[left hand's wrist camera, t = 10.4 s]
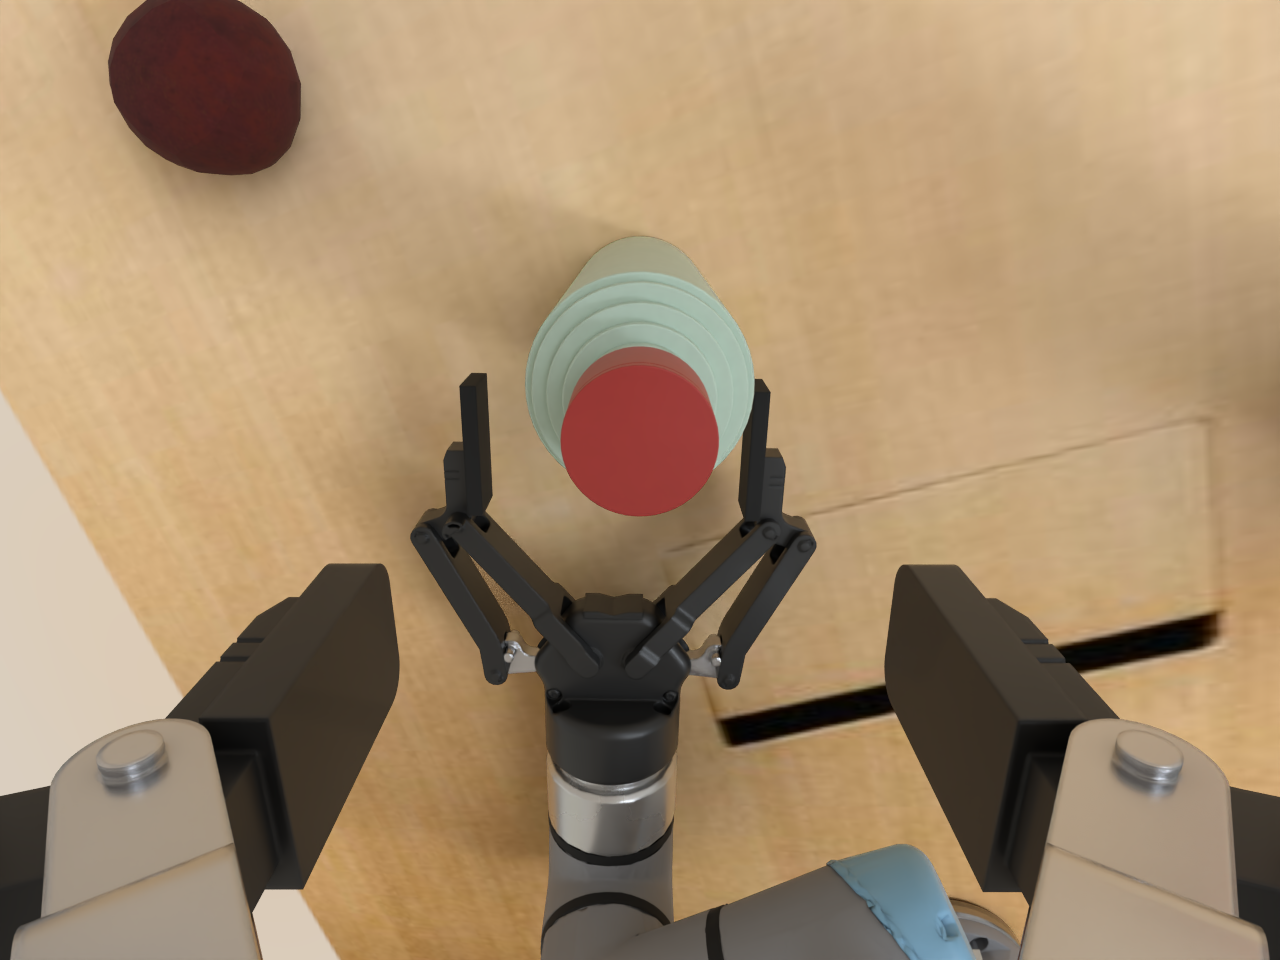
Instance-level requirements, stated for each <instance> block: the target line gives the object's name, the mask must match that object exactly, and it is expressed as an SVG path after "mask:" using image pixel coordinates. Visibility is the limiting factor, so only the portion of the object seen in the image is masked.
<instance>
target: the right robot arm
mask: <svg viewBox="0 0 1280 960" xmlns="http://www.w3.org/2000/svg"><path fill="white" fill-rule="evenodd" d="M459 387H460V403H461V419H462V436H463V442H453V443H452V444H451V446H450V447H449V448H448V450H447V451H446V454H445V457H444V460H443V461H444V475H445V490H446V504H447V505H446V506H445V507H443V508H440V509H434V508H432V509H428V510H427V511H426V512H425V513H424V514H423V516H422V517H421V519H420V520H419V522H418V523H417V525H416V526H415V528H414V529H413V531H412V533H411V537H410V539H411V541H412V543H413V545H414V547H415V548H416V550H417V551H418V553H419V554H420V556H421V558H422V559H423V561H424V562H425V564H426V566H427V567H428V569H429V570H430V572H431V573H432V575H433V577H434V578H435V580H436V581H437V583H438V584H439V586H440V588H441V589H442V591H443V592H444V594H445V596H446V597H447V599H448V600H449V602H450V603H451V605H452V607H453V608H454V610H455V611H456V613H457V614H458V616H459V618H460V619H461V621H462V622H463V624H464V626H465V627H466V629H467V630H468V632H469V633H470V635H471V637H472V638H473V640H474V641H475V643H476V645H477V646H478V648H479V649H480V654H481V659H482V664H483V669H484V675H485V678H486V680H487V681H488V682H489V683H491V684H493V685H499V684H502V683H504V682H505V681H506V679H507V676H508V674H511V673H524V672H537V674H538V675H539V676H540V678H541V680H542V681H543V684H544V688H545V718H546V745H547V749H548V753H547V758H546V763H547V788H548V817H549V879H548V889H547V897H546V904H545V912H544V920H543V927H542V937H541V960H1017V958H1018V953H1019V949H1020V943H1019V941H1018V939H1017V938H1016V936H1015V934H1014V933H1013V931H1012V930H1011V929H1010V928H1009V926H1008V925H1007V924H1006V923H1005V922H1004V921H1003V920H1001V919H1000V918H999V917H997V916H996V915H994V914H993V913H991V912H989V911H987V910H985V909H983V908H981V907H978V906H976V905H973V904H970V903H966V902H962V901H956V900H949V898H948V896H947V894H946V892H945V889H944V887H943V885H942V883H941V881H940V879H939V877H938V875H937V873H936V871H935V869H934V867H933V865H932V863H931V862H930V860H929V859H928V857H927V856H926V855H925V854H924V853H923V852H922V851H920V850H919V849H918V848H916V847H914V846H911V845H907V844H896V845H892V846H888V847H885V848H881V849H877V850H874V851H870V852H867V853H863V854H859V855H856V856H852V857H848V858H845V859H841V860H830V861H829V862H828V863H826V864H827V866H824V867H822V868H819V869H817V870H814V871H812V872H809V873H807V874H804V875H802V876H799V877H796V878H794V879H791V880H789V881H786V882H784V883H781V884H779V885H776V886H774V887H771V888H769V889H766V890H764V891H761V892H758V893H756V894H753V895H751V896H748V897H746V898H743V899H741V900H738V901H736V902H733V903H731V904H726V905H721V906H719V907H716V908H713V909H709V910H707V911H704V912H701V913H698V914H696V915H693V916H690V917H687V918H684V919H682V920H679V921H676V922H674V916H673V894H672V853H673V822H674V812H675V801H676V776H677V752H676V749H677V745H678V730H679V709H680V690H681V686H682V684H683V682H684V680H685V679H686V678H687V676H688V675H696V676H704V677H713V678H717V682H718V684H719V686H720V687H721V688H723V689H726V690H728V689H733V688H735V687H736V686H737V685H738V684H739V682H740V677H741V673H742V668H743V663H744V658H745V655H746V653H747V652H748V650H749V649H750V647H751V646H752V644H753V643H754V641H755V640H756V638H757V637H758V635H759V634H760V632H761V631H762V629H763V628H764V626H765V625H766V623H767V622H768V620H769V619H770V617H771V616H772V614H773V613H774V611H775V610H776V608H777V607H778V605H779V604H780V602H781V601H782V599H783V598H784V596H785V595H786V593H787V592H788V590H789V589H790V587H791V586H792V584H793V583H794V581H795V580H796V578H797V577H798V575H799V574H800V572H801V571H802V569H803V568H804V566H805V565H806V563H807V562H808V560H809V559H810V557H811V556H812V554H813V553H814V551H815V549H816V541H815V539H814V537H813V535H812V533H811V531H810V529H809V527H808V525H807V523H806V521H805V519H803V518H802V517H800V516H793V517H792V516H789V515H786V514H784V513H783V512H782V504H783V493H784V482H785V471H786V466H785V463H784V460H783V457H782V455H781V454H780V452H779V450H778V449H775V448H766V442H767V429H768V417H769V405H770V393H771V392H770V391H769V389H768V388H767V386H766V385H765V383H764V381H763V380H762V379H755V381H754V398H753V404H752V409H751V413H750V416H749V419H748V422H747V425H746V427H745V429H744V431H743V440H742V454H741V468H740V483H739V497H738V502H739V505H740V508H741V511H742V514H743V517H744V518H743V519H742V520H741V521H740V522H739V523H738V524H737V525H736V526H735V527H734V528H733V529H732V530H731V531H730V532H729V533H728V534H727V535H726V536H725V537H724V538H723V539H722V540H721V541H720V542H719V543H718V544H717V545H716V546H715V547H714V548H713V549H712V550H711V551H710V552H709V553H708V554H707V555H706V556H704V557H703V558H702V559H701V560H700V561H699V562H698V563H697V564H696V565H695V566H694V567H693V568H692V569H691V570H690V571H689V572H688V573H687V574H686V575H685V576H684V577H683V578H682V579H681V580H680V581H679V582H678V583H677V584H676V585H671V586H670V587H668V588H667V589H666V590H665V591H664V592H663V593H662V594H661V595H660V596H659V597H658V598H657V599H656V600H655V601H654V602H651V601H649V600H647V599H644V598H643V594H626V595H622V596H617V597H612V596H608V595H604V594H600V593H586V596H585V597H584V598H580V599H578V600H576V601H575V600H574V598H573V597H572V596H571V595H570V594H569V593H568V592H567V591H566V590H565V589H564V588H563V587H562V586H561V585H560V584H558V583H554V582H552V581H551V580H550V579H549V578H548V576H547V575H546V574H545V573H544V572H543V571H542V570H541V569H540V568H539V567H538V566H537V565H536V564H535V563H534V562H533V561H532V560H531V559H530V558H529V557H528V556H527V554H526V553H525V552H524V551H523V550H522V549H521V548H520V547H519V546H518V545H517V544H516V543H515V542H514V541H513V540H512V539H511V538H510V537H509V536H508V535H507V533H506V532H505V531H504V530H503V529H502V528H501V527H500V526H499V525H498V524H497V523H496V522H495V521H494V520H493V519H492V518H491V517H490V516H489V515H488V514H487V513H486V511H485V510H486V508H487V506H488V504H489V502H490V500H491V498H492V496H493V494H492V474H491V453H490V433H489V412H488V391H487V373H471V374H470V375H469V376H468V377H467V378H466V379H465V380H464V382H463V383H462V384H461V385H460V386H459ZM764 554H765V555H764ZM469 555H470V556H471V557H472V558H473V559H474V560H475V561H476V562H477V563H478V564H479V565H480V566H481V567H482V568H483V569H484V570H485V571H486V572H487V573H488V574H489V575H490V576H491V577H492V578H493V579H494V580H495V581H496V582H497V583H498V584H499V585H500V586H501V587H502V588H503V589H504V590H505V592H506V593H507V594H508V595H509V596H510V597H511V598H512V599H513V600H514V601H515V602H516V603H517V604H518V605H519V606H520V607H521V608H522V609H523V610H524V611H525V612H526V613H527V614H528V615H529V616H530V617H531V619H532V621H533V624H534V626H535V628H536V629H537V630H538V631H539V632H540V633H541V634H542V635H543V636H544V638H543V639H542V640H541V641H540V643H539V645H538V647H532V646H529V645H527V644H526V643H525V642H524V640H523V638H522V636H521V635H520V633H519V632H518V631H517V630H512V631H511V630H510V626H509V623H508V620H507V618H506V616H505V614H504V612H503V610H502V608H501V607H500V605H499V604H498V602H497V600H496V599H495V597H494V595H493V594H492V592H491V590H490V589H489V587H488V585H487V584H486V582H485V581H484V579H483V577H482V576H481V574H480V572H479V571H478V569H477V567H476V566H475V564H474V562H473V561H472V559H471V558H470V556H469ZM763 555H764V556H763ZM761 556H763V558H762V559H761V561H760V562H759V564H758V565H757V567H756V569H755V570H754V572H753V573H752V575H751V576H750V578H749V579H748V581H747V583H746V584H745V586H744V587H743V589H742V590H741V592H740V593H739V595H738V597H737V598H736V600H735V601H734V603H733V604H732V606H731V607H730V609H729V610H728V612H727V614H726V615H725V617H724V619H723V620H722V622H721V625H720V627H719V630H718V634H717V635H715V634H711V635H709V636H708V638H707V639H706V640H705V642H704V643H703V645H702V646H701V647H700V648H699V649H697V650H689V647H688V645H687V644H686V642H685V641H684V640H683V639H682V638H683V637H684V636H685V635H686V634H687V633H688V632H689V631H690V629H691V628H692V625H693V623H694V621H695V620H696V619H697V618H698V617H699V616H700V615H701V614H702V613H703V612H704V611H705V610H706V609H707V608H708V607H709V606H711V605H712V604H713V603H714V602H715V601H716V600H717V599H718V598H719V597H720V596H721V595H722V594H723V593H724V592H725V591H726V590H727V589H728V588H729V587H730V586H731V585H732V584H733V583H734V582H735V581H737V580H738V579H739V578H740V577H741V576H742V575H743V574H744V573H745V572H746V571H747V570H748V569H749V568H750V567H751V566H752V565H753V564H754V563H755V562H756V561H757V560H758V559H759V558H760V557H761Z"/></svg>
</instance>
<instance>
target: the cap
mask: <svg viewBox="0 0 1280 960" xmlns="http://www.w3.org/2000/svg"><path fill="white" fill-rule="evenodd" d="M560 443H561V453H562V458H563V461H564V464H565V467H566V470H567V472H568V474H569V476H570V478H571V479H572V481H573V482H574V484H575V485H576V486H577V487H578V489H579V490H580V491H581V492H582V493H583V494H584V495H585V496H586V497H588V498H589V499H590V500H591V501H593V502H594V503H596V504H597V505H599V506H601V507H603V508H605V509H607V510H609V511H612V512H615V513H619V514H623V515H629V516H651V515H657V514H661V513H665V512H667V511H670V510H672V509H675V508H677V507H679V506H680V505H682V504H684V503H685V502H687V501H688V500H690V499H691V498H692V497H693V496H694V495H695V494H696V493H697V492H699V490H700V489H701V488H702V487H703V486H704V484H705V483H706V481H707V480H708V478H709V477H710V475H711V473H712V471H713V468H714V466H715V463H716V460H717V456H718V449H719V432H718V426H717V422H716V418H715V415H714V412H713V409H712V406H711V403H710V400H709V397H708V394H707V391H706V389H705V386H704V384H703V383H702V381H701V379H700V378H699V376H698V375H697V374H696V372H695V371H694V370H693V369H692V368H691V367H690V366H689V365H688V364H687V363H686V362H684V361H683V360H682V359H680V358H679V357H677V356H675V355H673V354H672V353H669V352H667V351H664V350H661V349H657V348H653V347H645V346H635V347H627V348H622V349H619V350H615V351H613V352H611V353H608V354H606V355H604V356H603V357H601V358H599V359H598V360H597V361H595V362H594V363H593V364H592V365H590V366H589V367H588V369H587V370H586V371H585V372H584V373H583V374H582V376H581V377H580V379H579V380H578V382H577V384H576V386H575V388H574V390H573V393H572V396H571V398H570V401H569V404H568V407H567V410H566V413H565V417H564V419H563V424H562V428H561V438H560Z"/></svg>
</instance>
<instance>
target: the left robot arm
mask: <svg viewBox="0 0 1280 960" xmlns="http://www.w3.org/2000/svg"><path fill="white" fill-rule="evenodd" d="M398 681H399V652H398V644H397V636H396V628H395V620H394V613H393V605H392V597H391V589H390V581H389V576H388V573H387V570H386V568H385V566H384V565H383V564H328V565H326V566H325V567H324V568H323V569H322V571H321V572H320V573H319V574H318V575H317V577H316V578H315V579H314V580H313V581H312V583H311V584H310V585H309V586H308V587H307V589H306V590H305V591H304V592H303V593H302V595H301V596H300V597H288V598H287V599H285V600H283V601H282V602H280V603H278V604H277V605H275V606H273V607H272V608H270V609H268V610H267V611H265V612H263V613H262V614H260V615H258V616H257V617H256V618H255V619H254V620H253V621H252V622H251V623H250V625H249V626H248V627H247V628H246V629H245V630H244V631H243V632H242V633H241V635H240V636H239V637H238V638H237V643H233V644H232V645H231V646H230V647H229V648H228V649H227V650H226V651H225V652H224V654H223V655H222V656H221V660H220V662H215V664H214V665H213V666H212V667H211V668H210V669H209V670H208V671H207V672H206V674H205V675H204V676H203V677H202V678H201V679H200V680H199V681H198V683H197V684H196V685H195V686H194V687H193V688H192V689H191V690H190V691H189V693H188V694H187V695H186V696H185V697H184V698H183V699H182V700H181V701H180V703H179V704H178V705H177V706H176V707H175V708H174V709H173V710H172V712H171V713H170V714H169V715H168V716H167V717H166V718H165V719H158V720H152V721H146V722H142V723H138V724H134V725H131V726H128V727H125V728H122V729H119V730H117V731H114V732H112V733H110V734H107V735H105V736H103V737H101V738H99V739H97V740H95V741H94V742H92V743H90V744H89V745H87V746H85V747H84V748H82V749H81V750H80V751H78V752H77V753H76V754H74V755H73V756H72V757H71V758H70V759H68V760H67V761H66V762H65V763H64V764H63V765H62V767H61V768H60V769H59V770H58V772H57V773H56V774H55V776H54V778H53V780H52V782H51V786H47V787H43V788H38V789H33V790H28V791H23V792H18V793H13V794H9V795H4V796H0V960H263V958H262V954H261V949H260V944H259V940H258V936H257V931H256V927H255V922H254V918H253V914H252V912H253V910H254V908H255V906H256V905H257V903H258V901H259V899H260V897H261V895H262V893H263V892H264V890H265V889H303V888H304V886H305V884H306V882H307V880H308V878H309V876H310V874H311V872H312V870H313V868H314V866H315V863H316V861H317V859H318V857H319V855H320V853H321V851H322V849H323V847H324V845H325V843H326V841H327V839H328V836H329V834H330V832H331V830H332V828H333V826H334V824H335V822H336V820H337V818H338V816H339V814H340V812H341V809H342V807H343V805H344V803H345V801H346V799H347V797H348V795H349V793H350V791H351V789H352V787H353V785H354V782H355V780H356V778H357V776H358V774H359V772H360V770H361V768H362V766H363V764H364V762H365V760H366V758H367V755H368V753H369V751H370V749H371V747H372V745H373V743H374V741H375V739H376V737H377V735H378V733H379V731H380V728H381V726H382V724H383V722H384V720H385V718H386V716H387V714H388V712H389V710H390V708H391V706H392V704H393V701H394V699H395V695H396V692H397V687H398ZM885 682H886V688H887V693H888V697H889V700H890V702H891V705H892V707H893V709H894V711H895V713H896V715H897V717H898V719H899V721H900V723H901V725H902V727H903V729H904V731H905V733H906V735H907V737H908V739H909V742H910V744H911V746H912V748H913V750H914V752H915V754H916V756H917V758H918V760H919V762H920V764H921V766H922V768H923V770H924V772H925V774H926V776H927V778H928V780H929V782H930V785H931V787H932V789H933V791H934V793H935V795H936V797H937V799H938V801H939V803H940V805H941V807H942V809H943V811H944V813H945V815H946V817H947V819H948V821H949V823H950V826H951V828H952V830H953V832H954V834H955V836H956V838H957V840H958V842H959V844H960V846H961V848H962V850H963V852H964V854H965V856H966V858H967V860H968V862H969V864H970V866H971V869H972V871H973V873H974V875H975V877H976V879H977V881H978V883H979V885H980V887H981V889H982V891H983V892H1022V893H1023V895H1024V897H1025V899H1026V901H1027V903H1028V904H1029V910H1028V914H1027V918H1026V922H1025V927H1024V931H1023V935H1022V940H1021V944H1020V949H1019V953H1018V958H1017V960H1280V797H1277V796H1272V795H1267V794H1262V793H1257V792H1253V791H1248V790H1243V789H1239V788H1235V787H1230V786H1229V783H1228V780H1227V778H1226V776H1225V774H1224V773H1223V772H1222V770H1221V769H1220V768H1219V767H1218V765H1217V764H1216V763H1215V762H1214V761H1213V760H1212V759H1210V758H1209V757H1208V756H1207V755H1206V754H1204V753H1203V752H1202V751H1200V750H1199V749H1198V748H1196V747H1195V746H1193V745H1191V744H1190V743H1188V742H1187V741H1185V740H1183V739H1181V738H1179V737H1177V736H1175V735H1173V734H1170V733H1168V732H1166V731H1163V730H1161V729H1158V728H1155V727H1152V726H1149V725H1146V724H1142V723H1138V722H1134V721H1128V720H1122V719H1120V718H1119V717H1118V716H1117V715H1116V714H1115V713H1114V712H1113V711H1112V710H1111V708H1110V707H1109V706H1108V705H1107V704H1106V703H1105V702H1104V701H1103V700H1102V699H1101V697H1100V696H1099V695H1098V694H1097V693H1096V692H1095V691H1094V690H1093V689H1092V688H1091V686H1090V685H1089V684H1088V683H1087V682H1086V681H1085V680H1084V679H1083V678H1082V676H1081V675H1080V674H1079V673H1078V672H1077V671H1076V670H1075V669H1074V668H1073V667H1072V665H1071V664H1070V663H1065V658H1064V657H1063V656H1062V654H1061V653H1060V652H1059V651H1058V650H1057V649H1056V648H1055V647H1054V646H1053V644H1048V639H1047V638H1046V637H1045V636H1044V635H1043V633H1042V632H1041V631H1040V630H1039V629H1038V628H1037V627H1036V626H1035V625H1034V624H1033V622H1032V621H1031V620H1030V619H1029V618H1028V617H1026V616H1025V615H1023V614H1021V613H1020V612H1018V611H1016V610H1015V609H1013V608H1011V607H1010V606H1008V605H1006V604H1004V603H1003V602H1001V601H999V600H998V599H996V598H985V597H984V596H983V595H982V593H981V592H980V591H979V590H978V589H977V588H976V586H975V585H974V584H973V583H972V582H971V580H970V579H969V578H968V577H967V576H966V575H965V573H964V572H963V571H962V570H961V569H960V568H959V567H958V566H957V565H902V566H901V567H900V568H899V569H898V572H897V574H896V578H895V584H894V591H893V599H892V607H891V615H890V622H889V630H888V638H887V646H886V653H885Z"/></svg>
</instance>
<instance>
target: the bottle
mask: <svg viewBox="0 0 1280 960" xmlns="http://www.w3.org/2000/svg"><path fill="white" fill-rule="evenodd" d="M635 346H645V347H653V348H657V349H661V350H664V351H667V352H669V353H672V354H673V355H675V356H677V357H679V358H680V359H682V360H683V361H684V362H686V363H687V364H688V365H689V366H690V367H691V368H692V369H693V370H694V371H695V372H696V374H697V375H698V376H699V378H700V379H701V381H702V383H703V384H704V386H705V389H706V391H707V394H708V397H709V400H710V403H711V406H712V409H713V412H714V415H715V418H716V422H717V426H718V432H719V449H718V456H717V460H716V463H715V466H714V468H713V470H714V469H715V468H716V467H717V466H718V465H719V464H720V463H721V462H722V461H723V460H724V459H725V458H726V457H727V456H728V454H729V453H730V452H731V451H732V450H733V448H734V447H735V445H736V444H737V442H738V440H739V439H740V437H741V436H742V433H743V431H744V429H745V427H746V425H747V422H748V419H749V416H750V413H751V409H752V404H753V398H754V381H755V379H754V369H753V363H752V359H751V354H750V350H749V348H748V345H747V343H746V340H745V338H744V335H743V334H742V332H741V330H740V328H739V326H738V325H737V323H736V322H735V320H734V319H733V317H732V316H731V315H730V313H729V312H728V310H727V309H726V308H725V306H724V305H723V304H722V302H721V301H720V299H719V298H718V297H717V295H716V294H715V292H714V291H713V290H712V288H711V287H710V286H709V284H708V283H707V281H706V280H705V279H704V277H703V276H702V274H701V273H700V272H699V270H698V269H697V268H696V266H695V265H694V264H693V262H692V261H691V260H690V259H689V258H688V256H687V255H686V254H685V253H683V252H682V251H681V250H680V249H678V248H677V247H675V246H673V245H672V244H670V243H668V242H665V241H663V240H660V239H657V238H653V237H645V236H634V237H628V238H623V239H620V240H617V241H614V242H612V243H610V244H608V245H606V246H605V247H603V248H602V249H600V250H599V251H598V252H597V253H595V254H594V255H593V256H592V257H591V259H590V260H589V261H588V262H587V263H586V265H585V266H584V267H583V269H582V270H581V271H580V273H579V274H578V276H577V277H576V278H575V280H574V281H573V282H572V284H571V285H570V287H569V288H568V289H567V291H566V292H565V294H564V295H563V296H562V298H561V299H560V300H559V302H558V303H557V305H556V306H555V307H554V309H553V310H552V311H551V313H550V314H549V316H548V317H547V318H546V320H545V321H544V323H543V324H542V326H541V327H540V329H539V331H538V333H537V335H536V337H535V339H534V341H533V344H532V347H531V350H530V353H529V357H528V362H527V367H526V377H525V390H526V400H527V405H528V410H529V414H530V417H531V420H532V423H533V426H534V428H535V430H536V432H537V434H538V436H539V438H540V440H541V441H542V443H543V444H544V446H545V447H546V449H547V450H548V451H549V453H550V454H551V455H552V456H553V457H554V458H555V459H556V461H557V462H558V463H559V464H561V465H562V466H563V467H564V468H565V469H566V467H565V464H564V461H563V458H562V453H561V443H560V438H561V428H562V424H563V419H564V417H565V413H566V410H567V407H568V404H569V401H570V398H571V396H572V393H573V390H574V388H575V386H576V384H577V382H578V380H579V379H580V377H581V376H582V374H583V373H584V372H585V371H586V370H587V369H588V367H589V366H590V365H592V364H593V363H594V362H595V361H597V360H598V359H599V358H601V357H603V356H604V355H606V354H608V353H611V352H613V351H615V350H619V349H622V348H627V347H635Z"/></svg>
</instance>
